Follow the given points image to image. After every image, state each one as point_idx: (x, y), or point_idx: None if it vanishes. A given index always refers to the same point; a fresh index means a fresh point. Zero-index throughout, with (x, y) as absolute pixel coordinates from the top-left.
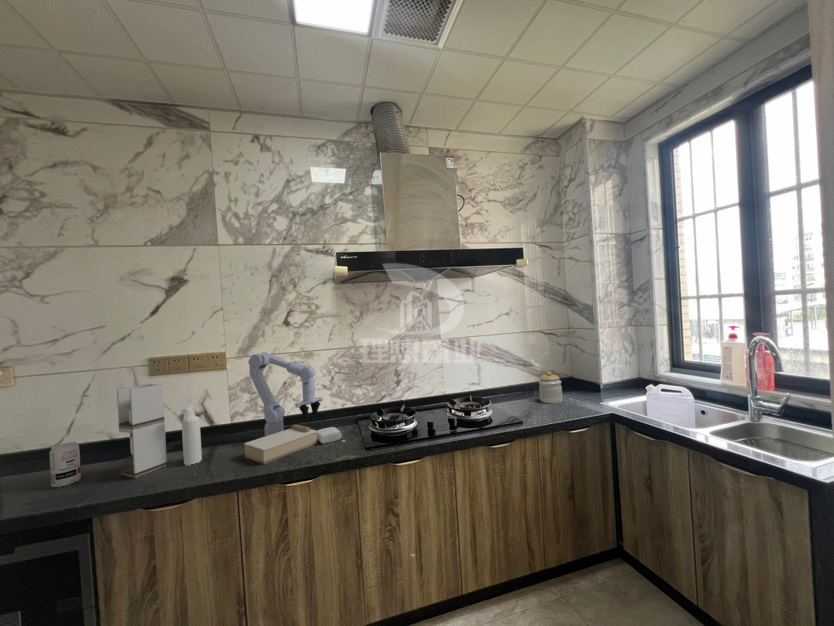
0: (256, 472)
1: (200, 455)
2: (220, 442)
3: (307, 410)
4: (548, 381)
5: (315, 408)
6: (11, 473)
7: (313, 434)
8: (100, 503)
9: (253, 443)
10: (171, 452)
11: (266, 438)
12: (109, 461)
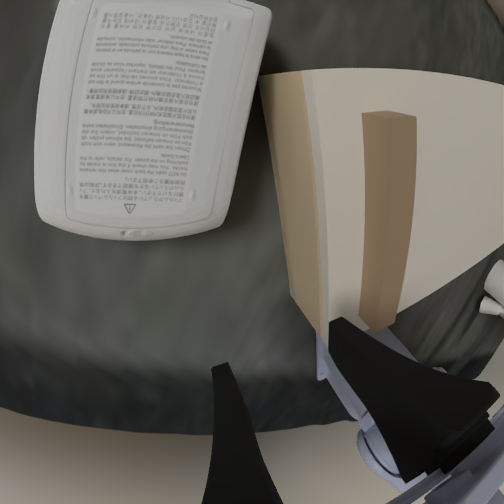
0: (501, 49)
1: (501, 277)
2: None
3: (426, 393)
4: None
5: (264, 472)
6: (491, 357)
7: None
8: None
9: None
10: (456, 357)
11: (489, 228)
12: (477, 354)
